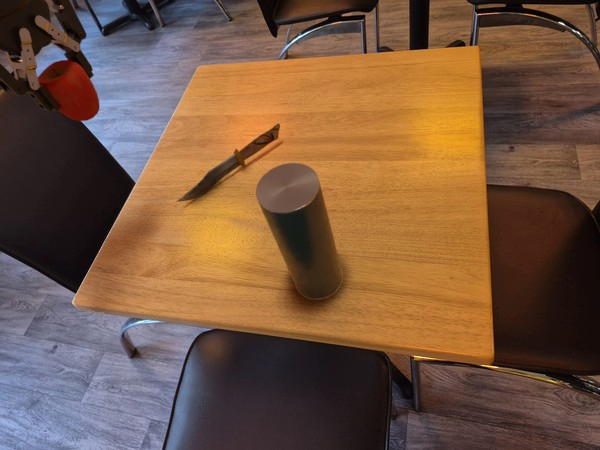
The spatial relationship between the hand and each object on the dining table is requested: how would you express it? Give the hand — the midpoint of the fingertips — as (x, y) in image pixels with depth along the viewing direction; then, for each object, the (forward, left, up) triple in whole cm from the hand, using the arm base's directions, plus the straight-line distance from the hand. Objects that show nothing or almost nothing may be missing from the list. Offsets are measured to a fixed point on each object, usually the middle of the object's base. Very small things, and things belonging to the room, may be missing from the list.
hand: (71, 92), depth 59 cm
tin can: (-2, -32, -30) cm, 44 cm away
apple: (0, 0, -4) cm, 4 cm away
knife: (+14, -7, -30) cm, 34 cm away
